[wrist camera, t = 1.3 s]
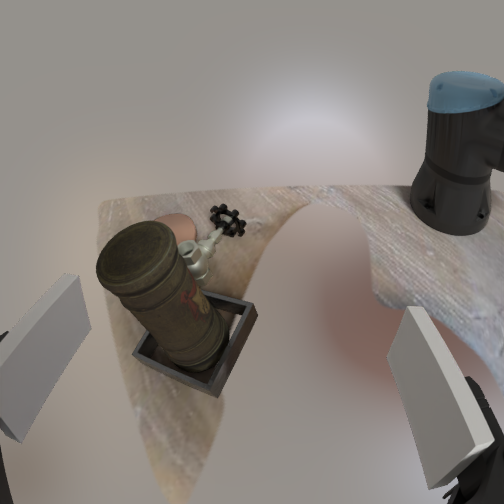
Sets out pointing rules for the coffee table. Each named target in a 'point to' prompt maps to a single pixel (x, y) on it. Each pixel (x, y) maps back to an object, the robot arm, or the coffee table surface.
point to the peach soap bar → (180, 226)
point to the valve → (210, 243)
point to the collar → (229, 355)
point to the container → (163, 294)
